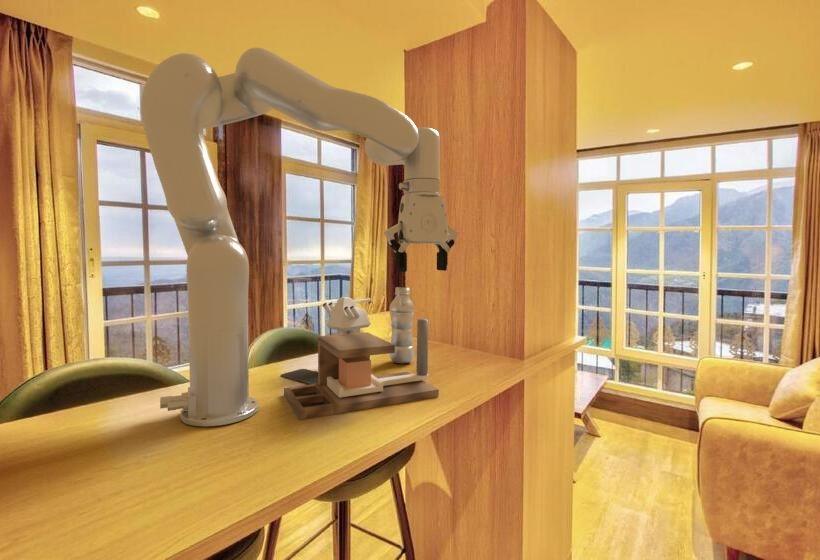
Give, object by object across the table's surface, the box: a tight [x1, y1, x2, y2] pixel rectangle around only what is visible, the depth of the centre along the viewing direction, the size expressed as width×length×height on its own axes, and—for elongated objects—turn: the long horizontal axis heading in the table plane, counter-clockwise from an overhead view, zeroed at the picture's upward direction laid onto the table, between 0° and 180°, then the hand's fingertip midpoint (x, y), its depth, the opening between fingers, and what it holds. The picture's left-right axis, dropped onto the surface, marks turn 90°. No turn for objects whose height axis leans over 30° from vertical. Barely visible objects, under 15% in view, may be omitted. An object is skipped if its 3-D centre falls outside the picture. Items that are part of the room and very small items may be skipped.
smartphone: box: [279, 368, 318, 385], centre depth 96 cm, size 7×1×15 cm
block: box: [339, 356, 372, 389], centre depth 84 cm, size 5×5×5 cm
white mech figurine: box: [321, 296, 372, 335], centre depth 105 cm, size 12×13×18 cm
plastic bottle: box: [389, 286, 415, 364], centre depth 111 cm, size 6×7×20 cm
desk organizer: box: [283, 332, 440, 421], centre depth 85 cm, size 28×14×12 cm, turn 118°
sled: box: [327, 318, 430, 398], centre depth 87 cm, size 21×8×13 cm, turn 118°
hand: (422, 270), depth 90 cm, fingers open, 9 cm apart
